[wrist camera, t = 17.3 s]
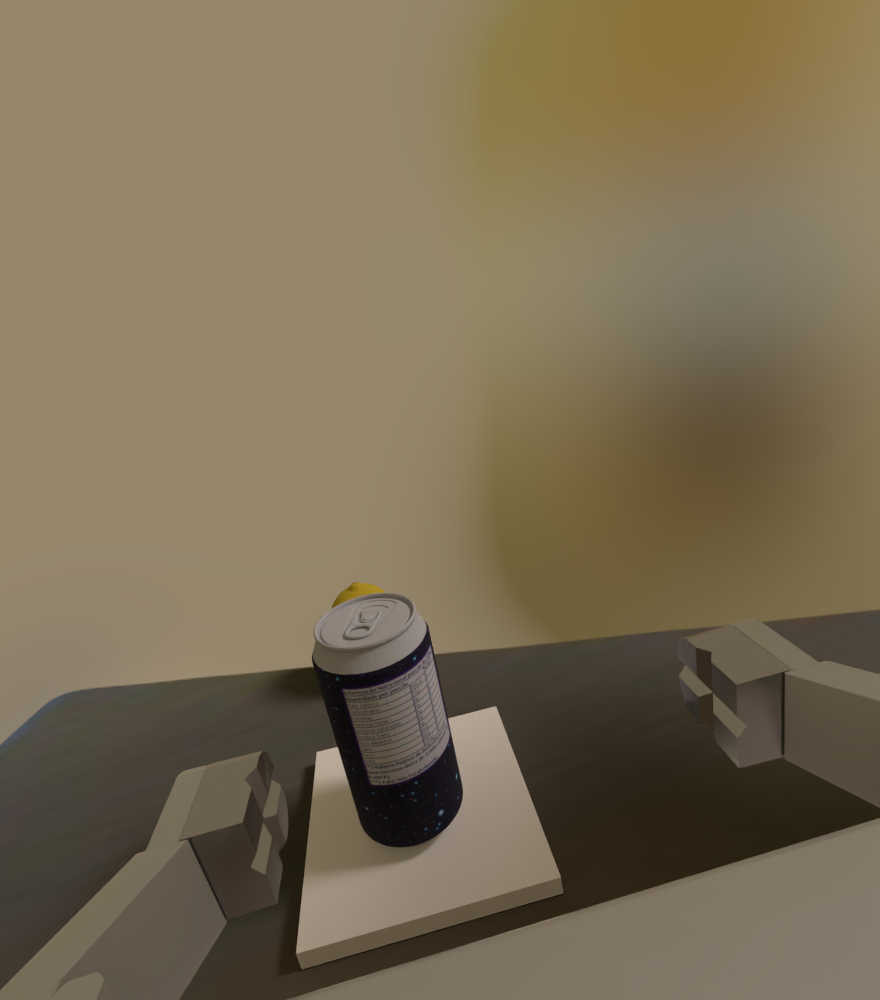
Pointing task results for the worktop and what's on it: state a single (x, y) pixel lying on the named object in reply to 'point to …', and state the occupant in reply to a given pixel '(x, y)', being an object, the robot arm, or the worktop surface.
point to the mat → (423, 855)
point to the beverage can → (388, 717)
